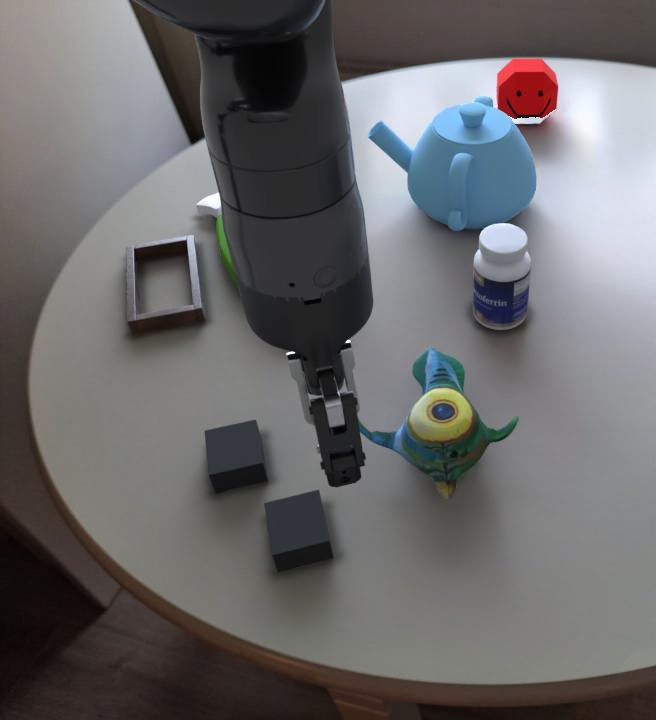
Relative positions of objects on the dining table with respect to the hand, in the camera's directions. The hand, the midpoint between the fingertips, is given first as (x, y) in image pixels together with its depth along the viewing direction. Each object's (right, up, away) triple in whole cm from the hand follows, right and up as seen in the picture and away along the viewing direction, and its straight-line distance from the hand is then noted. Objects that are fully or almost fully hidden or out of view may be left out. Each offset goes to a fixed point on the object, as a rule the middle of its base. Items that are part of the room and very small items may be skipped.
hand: (333, 433), depth 57 cm
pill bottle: (+12, +10, +28) cm, 32 cm away
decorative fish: (+6, -2, +16) cm, 17 cm away
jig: (-23, +13, +30) cm, 40 cm away
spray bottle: (-14, +17, +34) cm, 41 cm away
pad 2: (-4, -9, +9) cm, 13 cm away
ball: (+17, +39, +56) cm, 71 cm away
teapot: (+7, +24, +42) cm, 49 cm away
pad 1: (-11, -4, +14) cm, 18 cm away
